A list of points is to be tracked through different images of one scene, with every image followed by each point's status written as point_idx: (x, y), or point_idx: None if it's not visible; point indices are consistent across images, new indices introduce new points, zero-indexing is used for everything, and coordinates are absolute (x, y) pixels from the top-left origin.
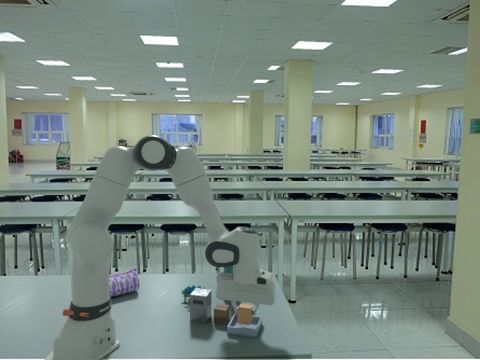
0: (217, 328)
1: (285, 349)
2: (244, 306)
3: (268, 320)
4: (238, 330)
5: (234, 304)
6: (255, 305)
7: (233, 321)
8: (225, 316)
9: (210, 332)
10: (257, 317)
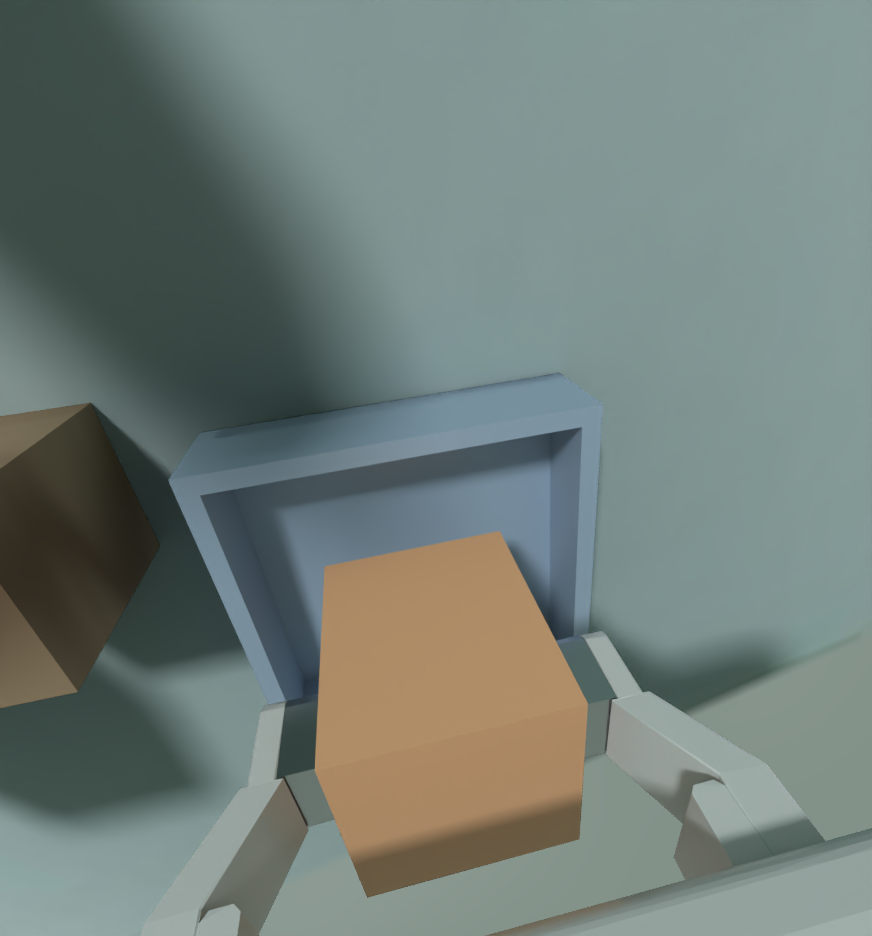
0: (146, 650)
1: (766, 642)
2: (442, 803)
3: (628, 245)
4: None
5: (256, 916)
6: (692, 866)
7: (249, 560)
8: (114, 612)
9: (139, 720)
10: (537, 430)
